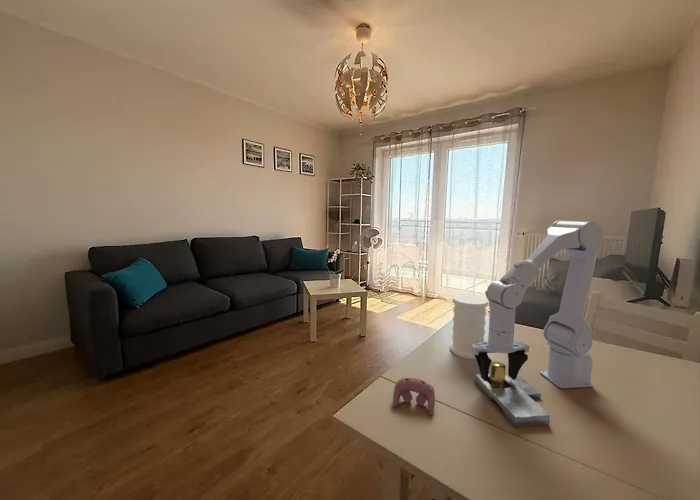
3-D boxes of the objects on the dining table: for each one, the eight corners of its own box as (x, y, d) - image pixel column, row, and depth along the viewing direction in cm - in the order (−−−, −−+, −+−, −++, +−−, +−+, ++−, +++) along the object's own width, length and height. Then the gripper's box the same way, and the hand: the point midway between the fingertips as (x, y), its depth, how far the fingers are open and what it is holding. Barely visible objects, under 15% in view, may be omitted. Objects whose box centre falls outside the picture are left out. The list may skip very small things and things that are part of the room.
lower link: (519, 380, 82) (519, 376, 81) (540, 398, 74) (540, 393, 73) (474, 382, 80) (474, 378, 80) (491, 401, 72) (491, 396, 72)
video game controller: (434, 412, 71) (436, 381, 73) (434, 416, 67) (435, 382, 69) (393, 404, 74) (396, 374, 76) (390, 407, 70) (393, 375, 72)
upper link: (502, 381, 81) (503, 372, 81) (549, 425, 64) (550, 415, 64) (474, 382, 80) (475, 374, 80) (514, 427, 64) (515, 417, 63)
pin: (500, 385, 79) (501, 361, 78) (506, 394, 75) (508, 368, 74) (486, 385, 79) (487, 361, 78) (492, 393, 75) (493, 368, 74)
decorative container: (488, 348, 101) (491, 297, 98) (483, 362, 91) (486, 306, 89) (453, 340, 107) (456, 292, 104) (445, 353, 97) (447, 300, 95)
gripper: (517, 321, 79) (514, 368, 81) (466, 323, 78) (464, 371, 80) (536, 332, 72) (532, 383, 74) (480, 334, 71) (477, 386, 73)
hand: (498, 378), depth 76 cm, fingers open, 7 cm apart
